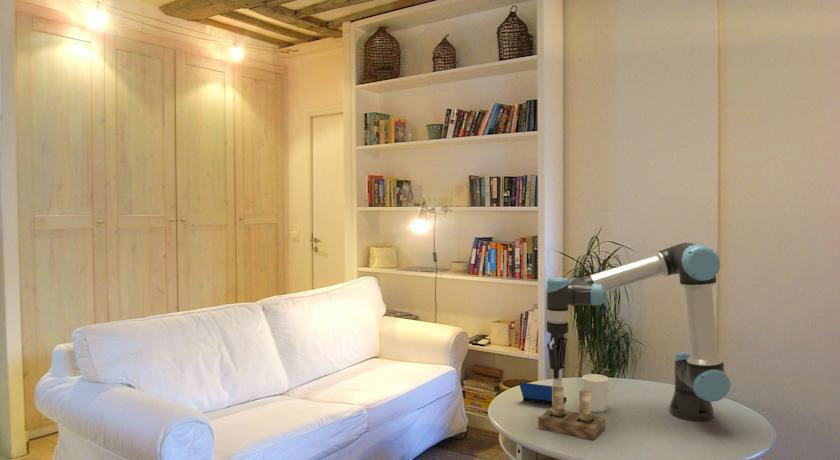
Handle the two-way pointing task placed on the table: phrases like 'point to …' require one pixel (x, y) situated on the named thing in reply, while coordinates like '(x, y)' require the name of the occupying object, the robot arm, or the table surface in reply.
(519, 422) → the table surface
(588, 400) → the wooden peg block
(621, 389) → the table surface
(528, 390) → the handheld game console
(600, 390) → the candle holder
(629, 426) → the table surface
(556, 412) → the beech peg
